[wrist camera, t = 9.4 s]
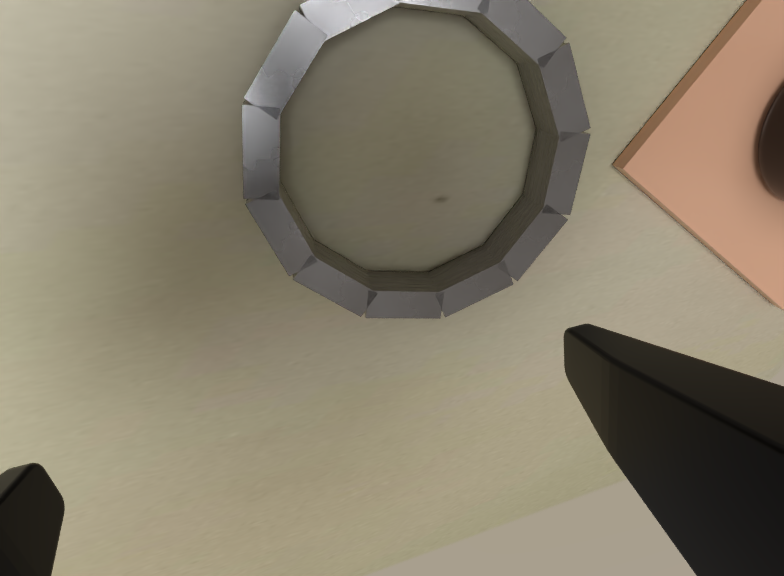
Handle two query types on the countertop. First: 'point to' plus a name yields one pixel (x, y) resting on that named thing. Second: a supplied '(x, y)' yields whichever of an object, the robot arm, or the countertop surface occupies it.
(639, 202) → the countertop surface
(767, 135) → the supplement bottle
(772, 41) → the tile
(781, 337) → the countertop surface
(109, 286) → the countertop surface
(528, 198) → the collar
